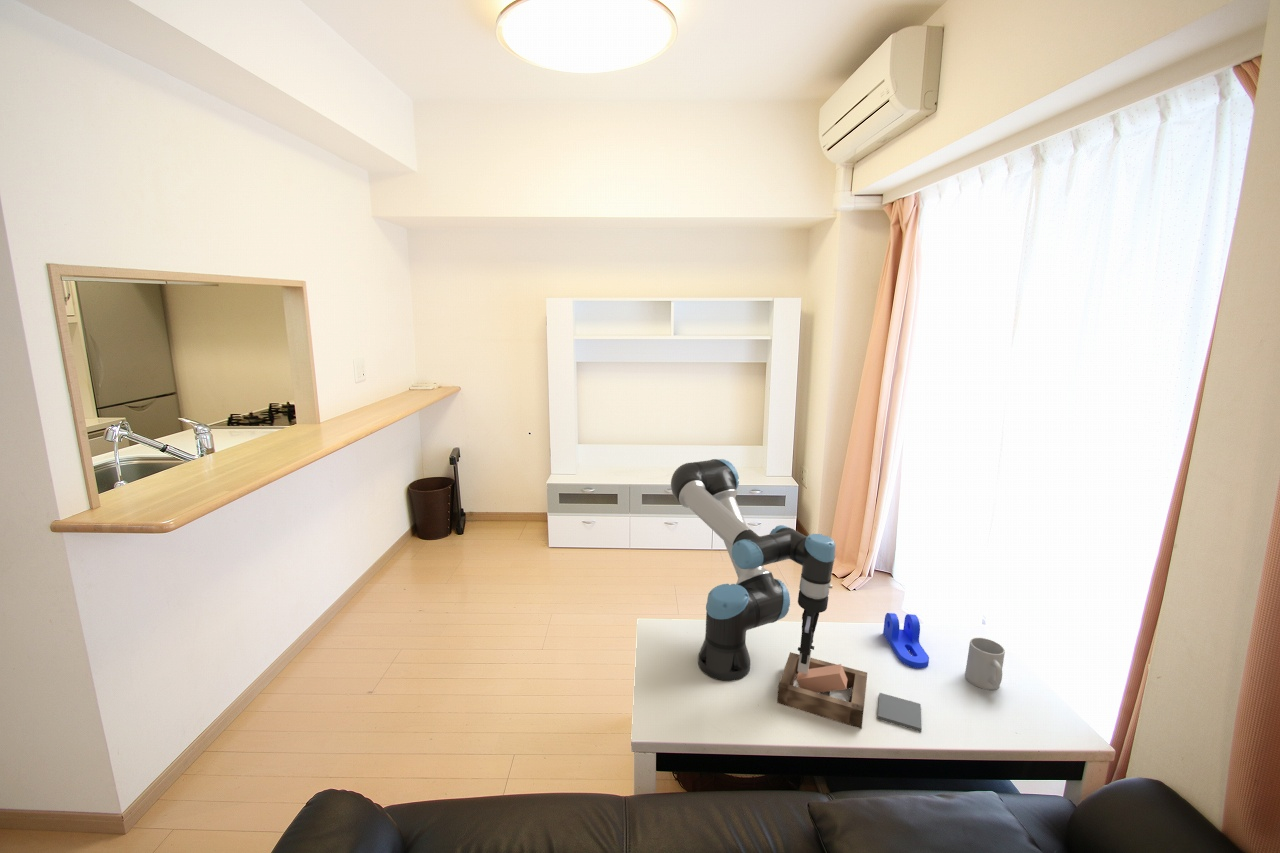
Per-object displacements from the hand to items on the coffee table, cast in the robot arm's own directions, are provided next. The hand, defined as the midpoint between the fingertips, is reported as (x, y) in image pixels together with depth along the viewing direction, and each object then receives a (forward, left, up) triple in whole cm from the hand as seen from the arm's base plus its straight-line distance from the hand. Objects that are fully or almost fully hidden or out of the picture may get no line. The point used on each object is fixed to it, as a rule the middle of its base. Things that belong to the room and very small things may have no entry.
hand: (802, 671), depth 150 cm
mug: (+47, +26, -6) cm, 54 cm away
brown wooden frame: (+6, 0, -6) cm, 8 cm away
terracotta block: (+6, 0, -3) cm, 7 cm away
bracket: (+27, +34, -6) cm, 44 cm away
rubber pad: (+25, +2, -6) cm, 25 cm away
